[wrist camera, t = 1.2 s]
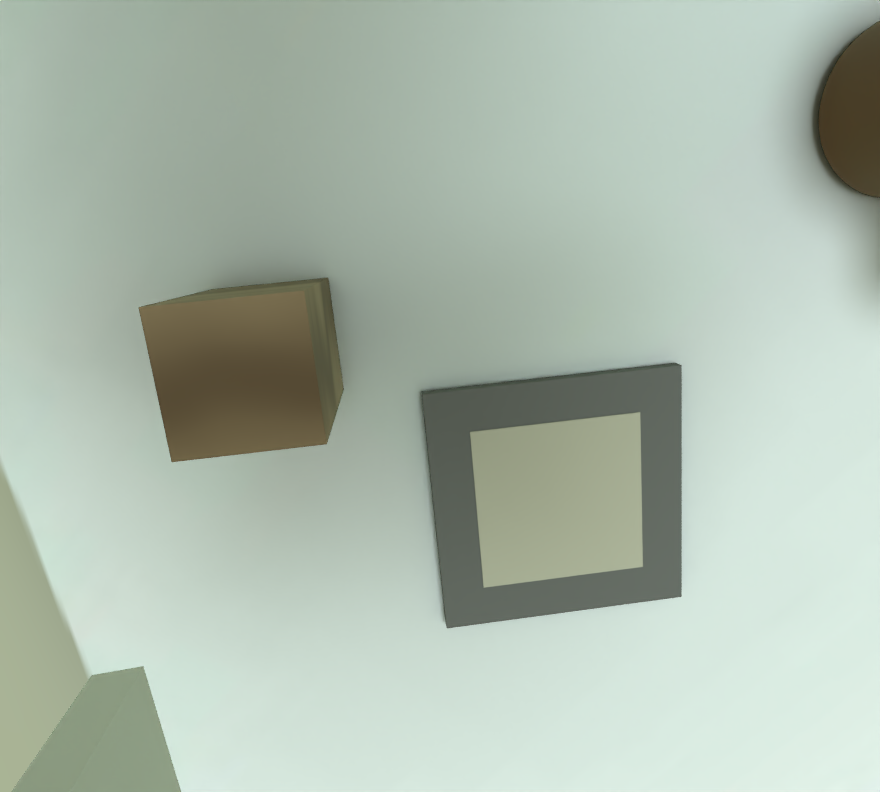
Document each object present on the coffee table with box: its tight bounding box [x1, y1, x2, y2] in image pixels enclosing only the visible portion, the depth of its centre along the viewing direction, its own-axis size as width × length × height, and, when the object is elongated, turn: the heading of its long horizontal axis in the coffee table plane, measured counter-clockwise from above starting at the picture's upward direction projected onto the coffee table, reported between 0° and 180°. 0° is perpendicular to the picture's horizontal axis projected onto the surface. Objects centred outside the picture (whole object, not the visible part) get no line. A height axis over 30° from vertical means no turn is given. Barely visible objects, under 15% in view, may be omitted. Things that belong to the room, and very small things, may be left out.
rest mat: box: [422, 363, 681, 628], centre depth 30 cm, size 12×12×1 cm
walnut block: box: [139, 278, 344, 462], centre depth 23 cm, size 5×5×8 cm
